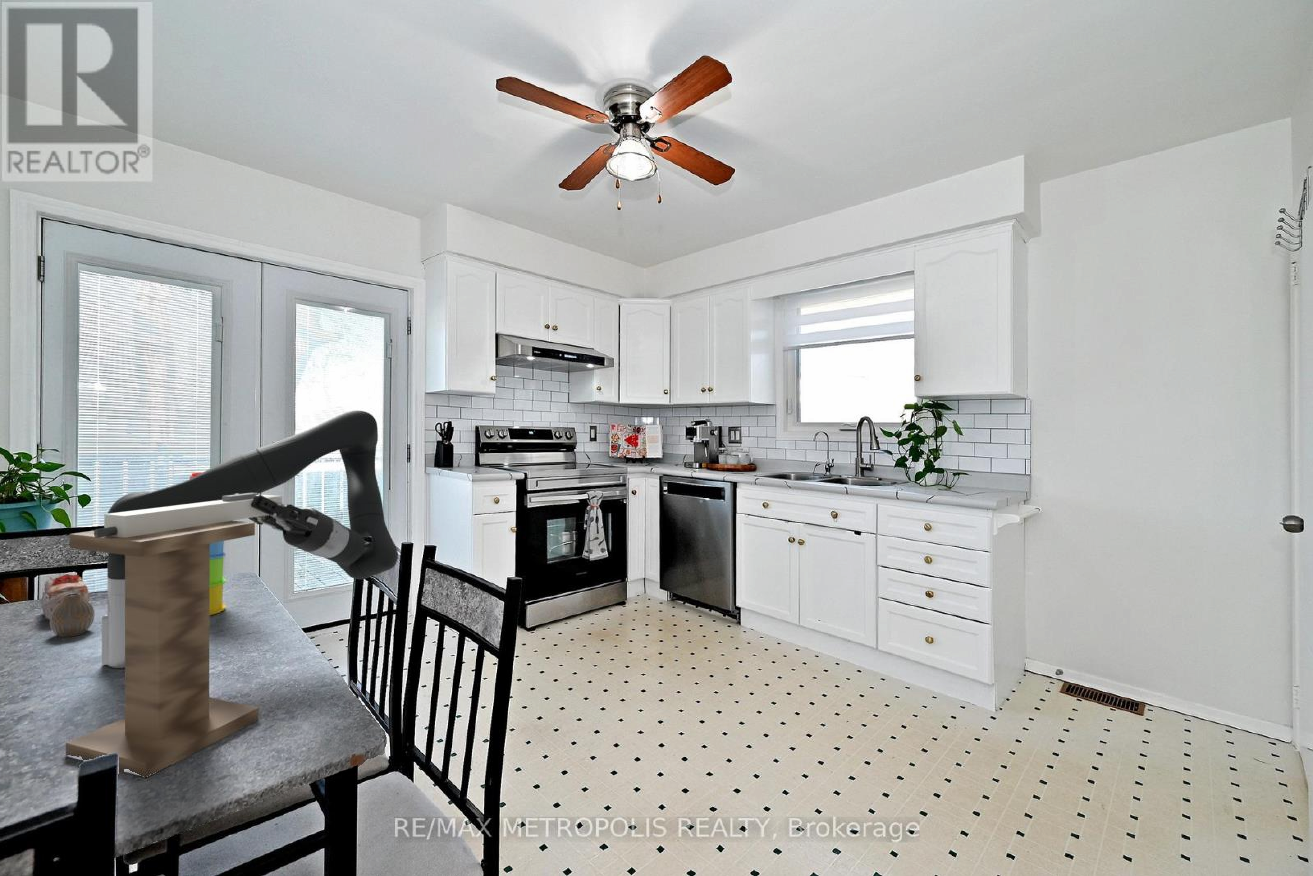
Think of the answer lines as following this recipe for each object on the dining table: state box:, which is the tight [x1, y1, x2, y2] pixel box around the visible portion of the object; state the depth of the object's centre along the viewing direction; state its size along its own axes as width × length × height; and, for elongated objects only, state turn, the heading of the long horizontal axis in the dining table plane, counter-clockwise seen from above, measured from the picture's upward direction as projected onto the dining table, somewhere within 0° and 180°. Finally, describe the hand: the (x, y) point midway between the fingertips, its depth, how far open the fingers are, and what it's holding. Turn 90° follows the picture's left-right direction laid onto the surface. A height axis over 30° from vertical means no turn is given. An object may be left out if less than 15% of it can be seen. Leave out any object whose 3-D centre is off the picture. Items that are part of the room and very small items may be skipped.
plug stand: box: [65, 520, 259, 777], centre depth 86 cm, size 16×16×32 cm
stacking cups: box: [189, 472, 227, 616], centre depth 140 cm, size 10×10×35 cm
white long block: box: [93, 493, 283, 538], centre depth 90 cm, size 26×4×4 cm, turn 164°
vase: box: [49, 593, 95, 638], centre depth 126 cm, size 7×7×9 cm
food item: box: [40, 573, 90, 621], centre depth 137 cm, size 14×8×10 cm, turn 52°
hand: (244, 499), depth 97 cm, fingers closed on white long block, 4 cm apart
